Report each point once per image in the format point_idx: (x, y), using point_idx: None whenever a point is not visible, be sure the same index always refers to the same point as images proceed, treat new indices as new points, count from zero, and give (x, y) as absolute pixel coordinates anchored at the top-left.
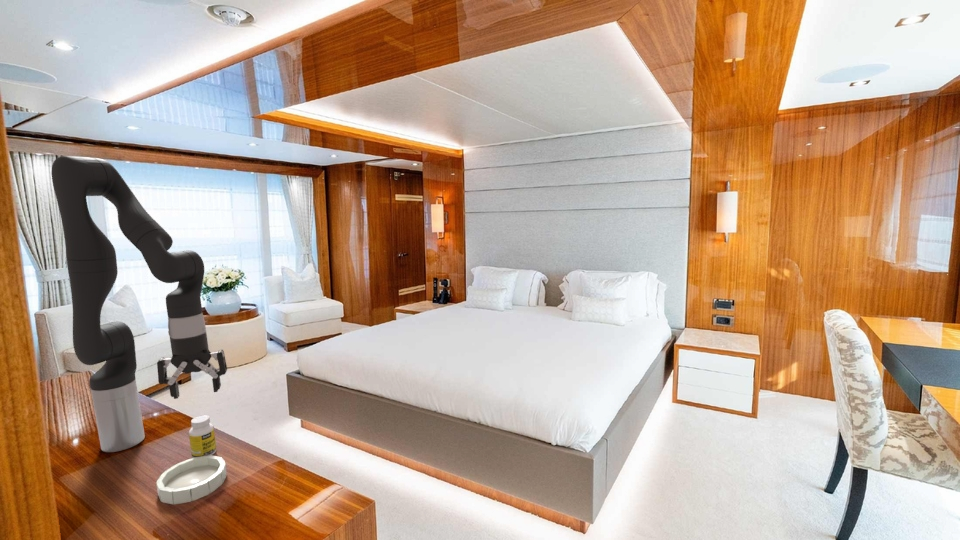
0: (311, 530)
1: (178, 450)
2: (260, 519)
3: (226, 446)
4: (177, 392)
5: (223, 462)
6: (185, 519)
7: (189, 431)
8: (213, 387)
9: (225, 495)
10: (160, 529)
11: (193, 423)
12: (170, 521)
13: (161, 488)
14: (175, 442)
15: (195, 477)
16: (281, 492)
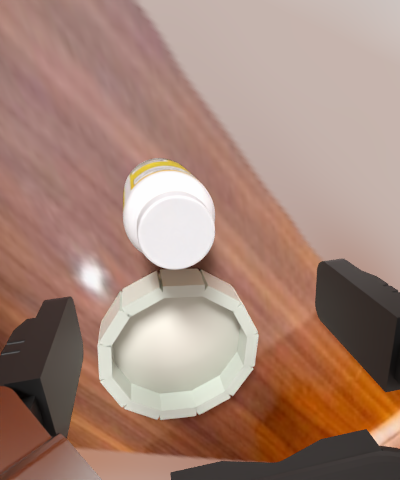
0: None
1: (55, 136)
2: None
3: (219, 164)
4: (72, 355)
5: (252, 328)
6: (195, 433)
7: (129, 237)
8: (338, 338)
9: (256, 382)
10: (158, 450)
11: (156, 264)
12: (168, 435)
13: (126, 406)
14: (10, 59)
15: (179, 331)
16: (356, 390)
